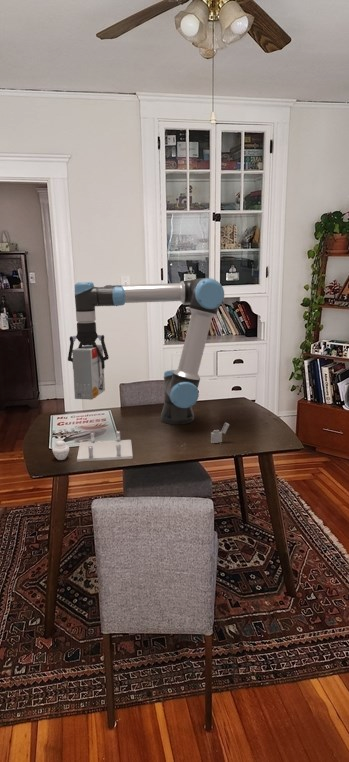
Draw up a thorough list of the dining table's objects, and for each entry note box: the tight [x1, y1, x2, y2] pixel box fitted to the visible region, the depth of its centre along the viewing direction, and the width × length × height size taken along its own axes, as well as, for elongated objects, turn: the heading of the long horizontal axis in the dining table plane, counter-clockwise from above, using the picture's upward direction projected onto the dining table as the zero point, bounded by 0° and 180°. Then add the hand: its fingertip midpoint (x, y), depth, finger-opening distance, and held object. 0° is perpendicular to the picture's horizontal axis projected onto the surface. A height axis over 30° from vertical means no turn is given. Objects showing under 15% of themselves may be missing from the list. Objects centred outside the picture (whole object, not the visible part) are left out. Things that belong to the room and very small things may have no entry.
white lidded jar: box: [52, 440, 70, 461], centre depth 179 cm, size 6×6×7 cm
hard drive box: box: [72, 344, 106, 401], centre depth 198 cm, size 16×8×20 cm, turn 169°
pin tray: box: [76, 430, 134, 463], centre depth 185 cm, size 20×18×5 cm
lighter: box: [210, 422, 230, 444], centre depth 193 cm, size 7×2×8 cm, turn 103°
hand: (89, 377), depth 199 cm, fingers closed on hard drive box, 9 cm apart
